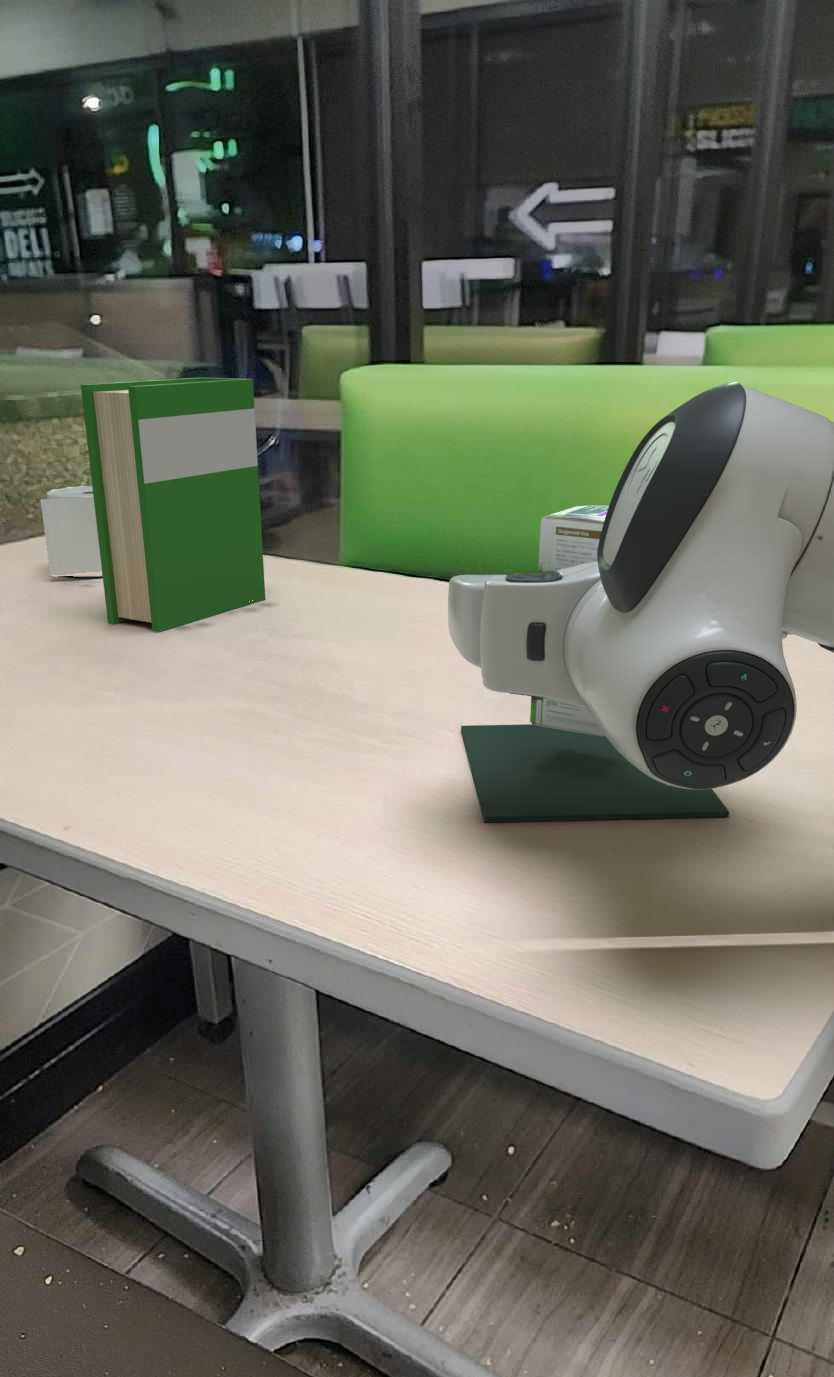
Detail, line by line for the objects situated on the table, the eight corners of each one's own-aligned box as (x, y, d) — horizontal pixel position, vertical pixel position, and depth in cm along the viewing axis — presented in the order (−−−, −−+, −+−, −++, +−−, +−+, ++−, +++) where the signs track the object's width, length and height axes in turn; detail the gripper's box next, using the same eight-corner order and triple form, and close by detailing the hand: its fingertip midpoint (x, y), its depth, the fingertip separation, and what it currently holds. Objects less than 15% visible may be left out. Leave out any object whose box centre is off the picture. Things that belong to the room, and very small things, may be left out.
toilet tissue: (146, 561, 153) (138, 484, 149) (132, 579, 142) (123, 497, 138) (65, 562, 152) (56, 485, 148) (45, 581, 141) (34, 499, 137)
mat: (660, 726, 90) (661, 721, 90) (728, 816, 73) (729, 811, 73) (460, 730, 89) (461, 725, 89) (484, 822, 73) (484, 816, 73)
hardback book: (158, 632, 118) (135, 386, 108) (107, 623, 121) (80, 384, 112) (265, 599, 132) (252, 378, 122) (216, 592, 135) (200, 377, 125)
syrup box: (561, 704, 83) (571, 502, 78) (637, 717, 81) (653, 508, 75) (528, 726, 79) (536, 513, 73) (607, 740, 76) (622, 520, 70)
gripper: (822, 577, 63) (745, 536, 76) (459, 581, 62) (442, 538, 75) (807, 686, 66) (734, 628, 78) (458, 691, 65) (441, 632, 78)
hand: (589, 584), depth 77 cm, fingers closed on syrup box, 8 cm apart
